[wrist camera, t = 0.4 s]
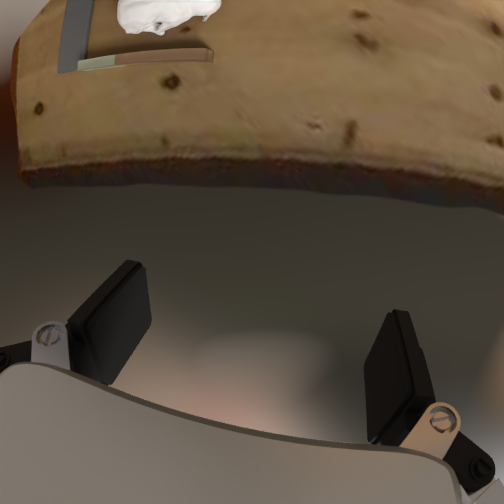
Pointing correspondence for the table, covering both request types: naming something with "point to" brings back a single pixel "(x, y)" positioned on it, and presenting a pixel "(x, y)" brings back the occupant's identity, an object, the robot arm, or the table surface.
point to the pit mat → (75, 34)
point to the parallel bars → (147, 58)
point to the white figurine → (161, 13)
